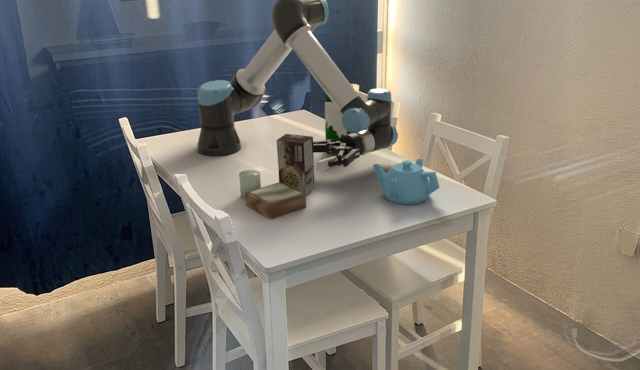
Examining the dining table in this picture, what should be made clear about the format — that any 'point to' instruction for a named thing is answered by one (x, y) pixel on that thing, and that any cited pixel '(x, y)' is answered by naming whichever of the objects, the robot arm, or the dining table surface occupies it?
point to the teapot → (407, 182)
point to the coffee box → (296, 162)
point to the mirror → (275, 200)
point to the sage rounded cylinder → (249, 181)
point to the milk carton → (333, 122)
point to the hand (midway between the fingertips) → (303, 160)
